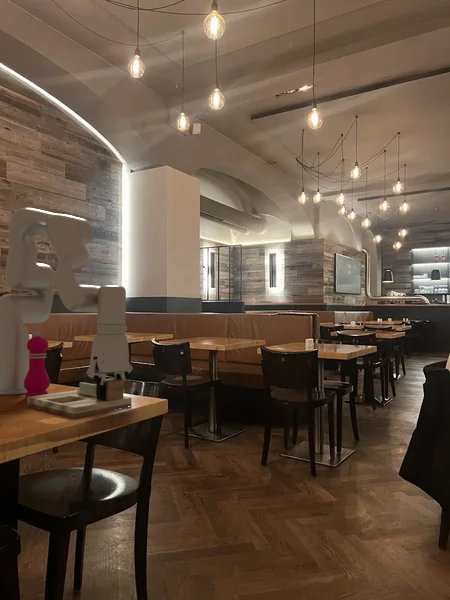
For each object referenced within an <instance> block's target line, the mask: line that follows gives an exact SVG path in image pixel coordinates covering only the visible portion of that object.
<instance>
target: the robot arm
mask: <svg viewBox="0 0 450 600" xmlns="http://www.w3.org/2000/svg"><path fill="white" fill-rule="evenodd" d="M7 231H8V232H7V233H8V241H9V242H8V243H9V245H8V253H7V258H6V266H5V272H4V273H5V274H4V282H5V285H6V287H8V288H9V289H11V290H14V291H24V292H32V294H23V293H7V294H3V295H1V296H0V396H1V395H2V396H4V395H5V396H10V395H21V394H25V393H26V392H27V390H26V389H25V388H24V380H25V377H26V375H27V373H28V370H29V367H30V358H28V357H29V353H30V352H29V350H28V349H27V343H28V341H29V340H30V339H31V338H30V334H29V331H28V329H27V327H26V326H25V324H39V323H45V322H46V321H47V320H48V319H49V317H50V315H51V313H52V312H51V311H52V306H53V299H54V293H55V288H56V292H57V295H58V297H59V298H60V301H61V302H62V304H63V306H64V307H65V309H67V310H68V311H71V312H74V313H75V312H76V313H82V312H83V313H97V314H96V315H97V319H96V320H97V321H96V323H97V324H96V335H94V337H93V340H92V344H91V349H90V360H89V366H88V368H87V370H86V372H85V374H86V375H87V376H88V377H89V378H91V380H92V381H93V382H94V383H93V384H96V396H97V399H99V400H105V399H106V385H104V383H105V379H107V374H114V379H119V380H124V383H125V382H126V380H127V377H128V376H129V374H130V373H131V372H132V371H133V369H134V368H133V365H132V364H131V363H130V354H129V352H130V350H129V342H128V336H127V335H126V332H128V329H129V328H128V326H126V317H127V315H126V314H127V313H126V312H127V310H126V308H127V290H126V288H125V287H124V286H121V285H115V284H114V285H107V284H106V285H92V284H91V285H90V284H79V283H78V281H77V279H76V277H75V275H74V273H73V270H75V269H77V268H80V267H81V266H83V265H85V263H86V262H87V261H88V258H89V255H90V254H89V251H88V249H87V247H86V246H87V245H88V244H90V243H91V242H92V240H93V237H94V231H93V227H92V225H91V223H90V222H89V221H88V220H87V219H85V218H82V217H77V216H73V215H69V214H65V213H64V214H63V213H56V212H50V211H46V210H42V209H38V208H33V207H21V208H18V209H16V210H14V211H13V212H12V214H11V216H10V218H9V222H8V227H7ZM34 237H37V238H42V239H47V240H49V241H50V244H51V246H52V248H53V250H54V253H55V255H56V258H57V259H58V261H59V264H58V265H57V268H56V271H55V272H54V269H53V268H52V267H51V265H49V264H46V263H43V262H42V263H41V262H37V257H38V252H39V250H38V246H37V242H36V241H35V239H34Z"/></svg>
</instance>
